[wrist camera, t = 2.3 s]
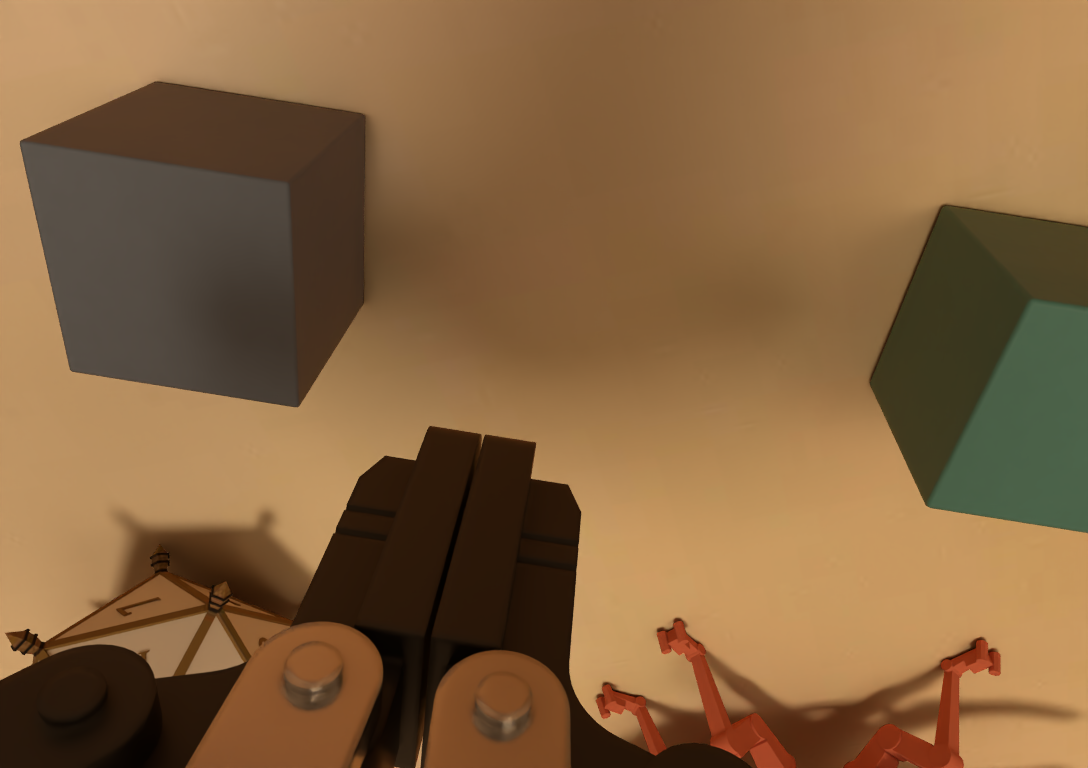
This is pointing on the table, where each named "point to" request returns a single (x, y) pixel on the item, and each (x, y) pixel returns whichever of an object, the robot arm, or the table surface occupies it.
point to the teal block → (994, 369)
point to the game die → (168, 625)
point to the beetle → (769, 755)
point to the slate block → (203, 238)
